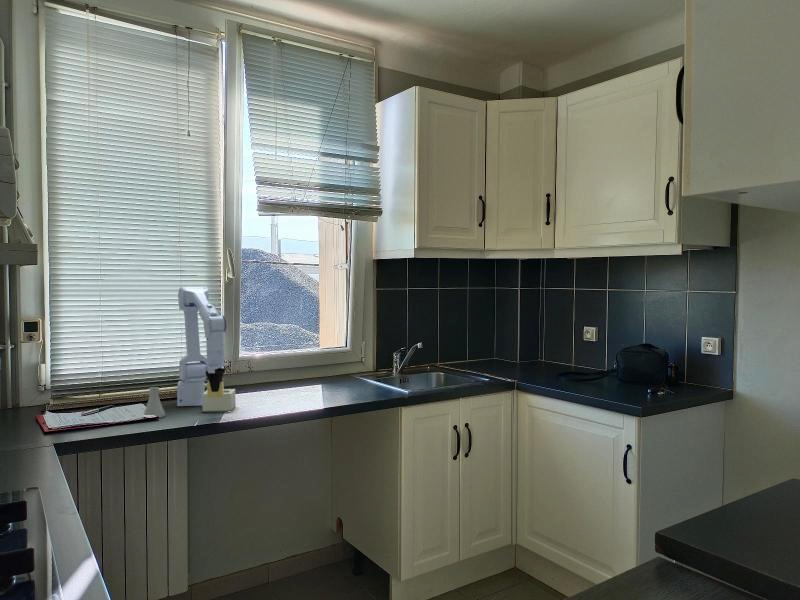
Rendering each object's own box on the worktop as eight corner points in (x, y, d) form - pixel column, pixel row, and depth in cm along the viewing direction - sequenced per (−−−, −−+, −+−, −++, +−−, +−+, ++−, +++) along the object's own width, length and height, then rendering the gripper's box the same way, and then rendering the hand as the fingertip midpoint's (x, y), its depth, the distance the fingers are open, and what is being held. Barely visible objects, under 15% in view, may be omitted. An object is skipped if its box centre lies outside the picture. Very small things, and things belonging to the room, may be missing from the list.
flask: (158, 413, 210) (158, 385, 210) (169, 416, 206) (169, 387, 205) (138, 417, 205) (138, 388, 204) (149, 420, 200) (149, 390, 200)
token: (207, 397, 204) (207, 382, 203) (208, 395, 206) (208, 381, 206) (222, 396, 204) (222, 382, 204) (223, 395, 207) (223, 380, 206)
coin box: (202, 412, 211) (202, 394, 211) (207, 407, 220) (207, 389, 219) (231, 411, 212) (231, 393, 212) (235, 406, 221) (235, 389, 220)
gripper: (223, 354, 198) (223, 394, 198) (231, 348, 212) (231, 386, 213) (201, 354, 197) (201, 395, 197) (210, 348, 211) (211, 386, 212)
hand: (215, 390), depth 205 cm, fingers closed on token, 2 cm apart
